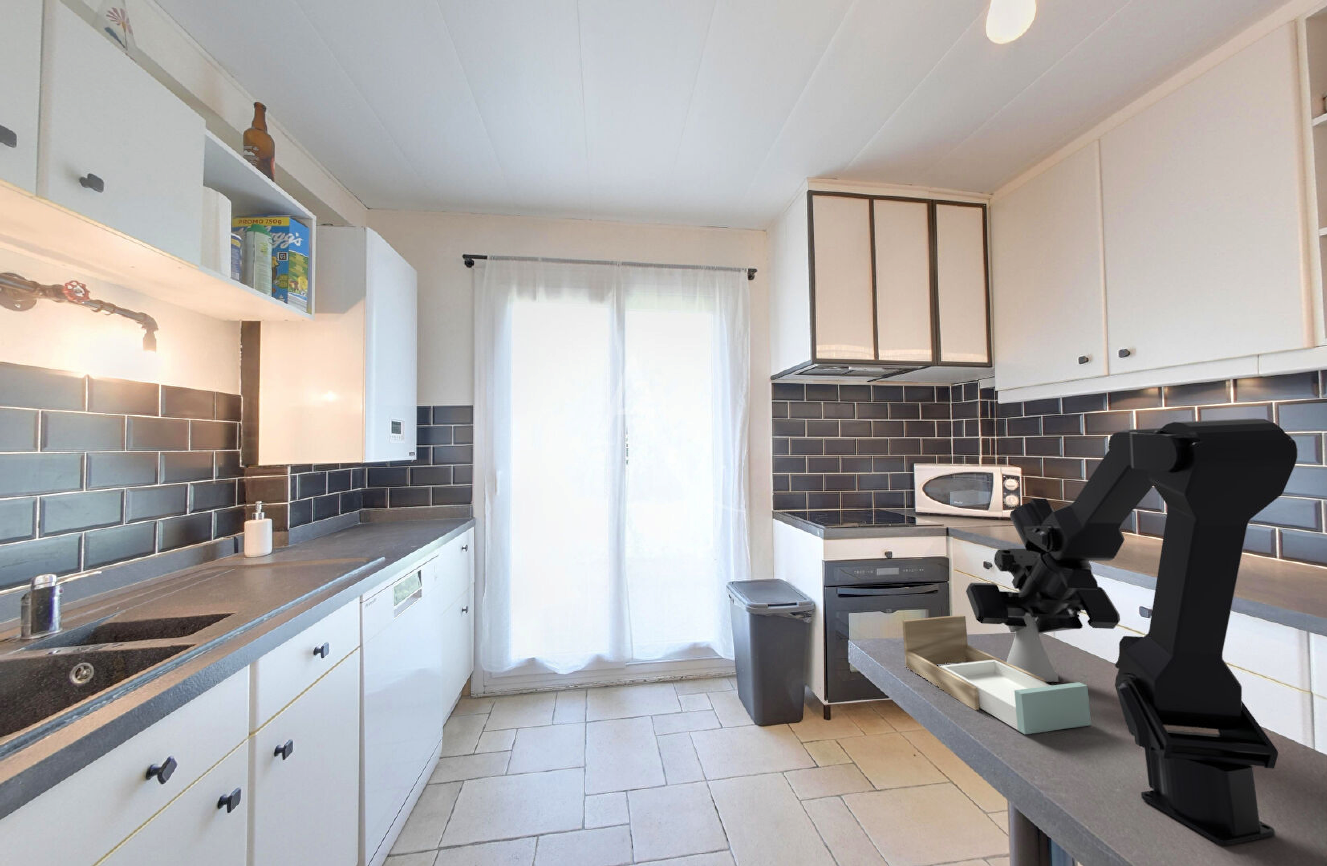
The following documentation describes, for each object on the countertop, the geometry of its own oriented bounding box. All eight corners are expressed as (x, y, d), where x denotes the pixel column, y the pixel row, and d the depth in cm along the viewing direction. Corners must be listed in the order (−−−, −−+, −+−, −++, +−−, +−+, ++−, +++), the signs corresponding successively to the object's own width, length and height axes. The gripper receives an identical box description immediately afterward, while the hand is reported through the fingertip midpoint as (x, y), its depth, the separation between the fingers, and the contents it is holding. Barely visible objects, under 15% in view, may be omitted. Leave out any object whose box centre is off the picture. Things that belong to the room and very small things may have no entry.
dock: (1047, 701, 68) (1041, 644, 69) (975, 710, 66) (970, 652, 67) (966, 661, 83) (962, 614, 84) (905, 667, 81) (902, 620, 82)
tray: (1091, 724, 62) (1087, 685, 62) (1024, 734, 60) (1021, 693, 60) (995, 677, 76) (993, 645, 76) (940, 684, 74) (937, 651, 75)
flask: (1013, 681, 75) (1007, 617, 76) (997, 663, 82) (992, 604, 83) (1068, 686, 73) (1062, 620, 73) (1047, 667, 79) (1041, 607, 80)
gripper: (1098, 534, 73) (1064, 589, 83) (965, 534, 78) (947, 586, 87) (1142, 599, 65) (1098, 651, 75) (990, 595, 69) (967, 645, 79)
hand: (1023, 630), depth 79 cm, fingers open, 3 cm apart
